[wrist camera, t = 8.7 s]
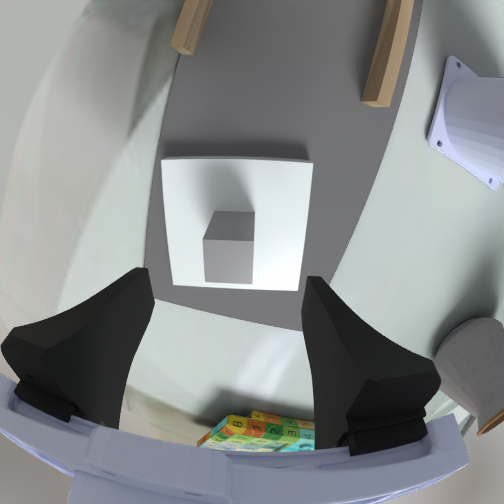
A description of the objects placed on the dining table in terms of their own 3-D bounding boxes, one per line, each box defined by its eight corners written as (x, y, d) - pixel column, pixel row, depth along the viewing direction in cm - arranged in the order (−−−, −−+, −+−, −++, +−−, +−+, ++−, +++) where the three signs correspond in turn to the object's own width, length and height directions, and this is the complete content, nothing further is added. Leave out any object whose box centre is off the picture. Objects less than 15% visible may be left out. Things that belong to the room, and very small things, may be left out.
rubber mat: (420, 0, 10) (422, -1, 9) (304, 328, 23) (304, 331, 23) (230, -62, 8) (229, -65, 8) (144, 292, 22) (143, 295, 22)
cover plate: (309, 160, 16) (329, 179, 12) (295, 281, 20) (304, 329, 16) (167, 157, 16) (133, 175, 12) (177, 275, 20) (157, 321, 16)
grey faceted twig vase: (463, 298, 22) (531, 406, 9) (503, 311, 23) (556, 390, 10) (365, 411, 32) (384, 500, 19) (417, 407, 33) (440, 481, 20)
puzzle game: (308, 468, 35) (195, 452, 31) (307, 446, 39) (199, 426, 35) (356, 445, 30) (226, 429, 26) (351, 420, 34) (229, 397, 30)
